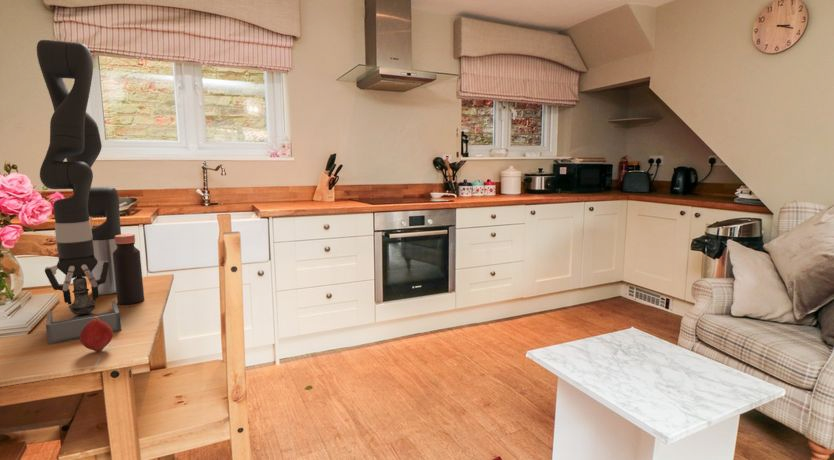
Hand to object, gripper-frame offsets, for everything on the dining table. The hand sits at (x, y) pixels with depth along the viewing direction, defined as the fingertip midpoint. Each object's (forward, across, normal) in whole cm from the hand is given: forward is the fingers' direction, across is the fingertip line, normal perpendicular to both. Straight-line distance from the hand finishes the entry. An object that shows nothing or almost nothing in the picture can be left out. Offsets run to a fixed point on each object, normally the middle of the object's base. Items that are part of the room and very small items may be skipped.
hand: (82, 301), depth 118 cm
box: (+4, 0, +11) cm, 12 cm away
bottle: (+5, -12, -8) cm, 15 cm away
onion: (+5, -2, +28) cm, 29 cm away
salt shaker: (+5, 0, 0) cm, 5 cm away
